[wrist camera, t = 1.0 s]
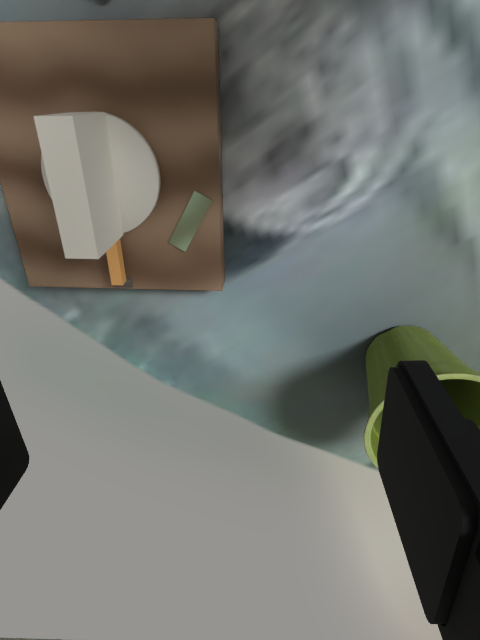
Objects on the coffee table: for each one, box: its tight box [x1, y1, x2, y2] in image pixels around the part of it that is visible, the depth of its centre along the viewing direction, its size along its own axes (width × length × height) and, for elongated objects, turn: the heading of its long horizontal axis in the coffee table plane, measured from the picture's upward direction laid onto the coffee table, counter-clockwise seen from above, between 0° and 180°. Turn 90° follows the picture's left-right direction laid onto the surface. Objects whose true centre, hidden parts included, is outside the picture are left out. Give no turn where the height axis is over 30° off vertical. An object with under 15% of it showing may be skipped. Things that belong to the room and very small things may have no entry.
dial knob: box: [33, 111, 161, 285], centre depth 31 cm, size 14×9×6 cm, turn 0°
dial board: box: [0, 18, 225, 291], centre depth 34 cm, size 20×18×3 cm
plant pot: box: [364, 326, 480, 468], centre depth 37 cm, size 12×12×11 cm
